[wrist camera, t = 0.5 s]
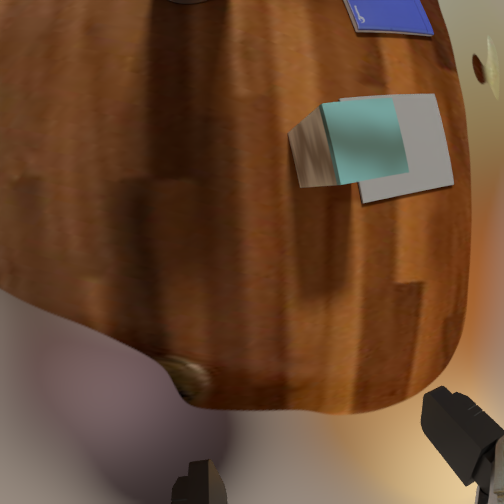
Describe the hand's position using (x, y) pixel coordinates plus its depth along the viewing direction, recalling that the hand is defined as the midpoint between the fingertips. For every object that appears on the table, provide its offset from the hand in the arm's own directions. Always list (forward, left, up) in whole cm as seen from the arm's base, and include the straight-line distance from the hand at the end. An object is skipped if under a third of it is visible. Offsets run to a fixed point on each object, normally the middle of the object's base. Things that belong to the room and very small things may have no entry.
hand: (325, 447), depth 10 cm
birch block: (-11, +10, -26) cm, 30 cm away
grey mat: (-11, +21, -26) cm, 35 cm away
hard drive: (-30, +25, -26) cm, 47 cm away
